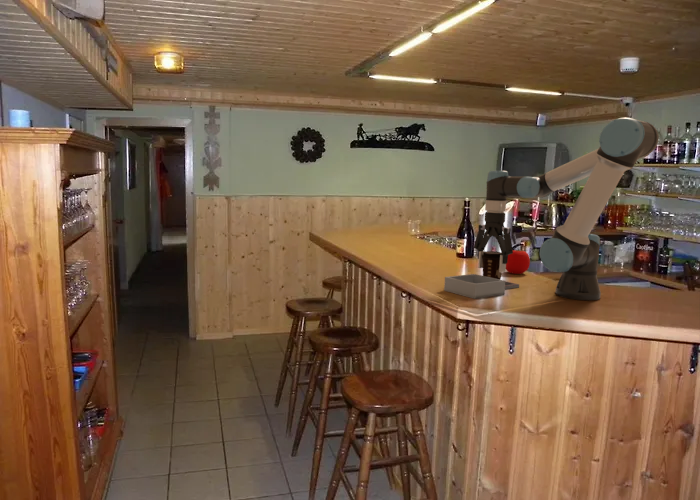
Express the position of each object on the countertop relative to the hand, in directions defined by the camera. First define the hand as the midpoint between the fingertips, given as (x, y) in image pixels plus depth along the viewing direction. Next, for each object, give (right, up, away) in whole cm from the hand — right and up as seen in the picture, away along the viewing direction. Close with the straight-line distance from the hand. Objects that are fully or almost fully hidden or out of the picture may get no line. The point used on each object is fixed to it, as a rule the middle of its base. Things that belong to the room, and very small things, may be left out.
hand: (491, 269), depth 209 cm
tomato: (+19, -3, +30) cm, 36 cm away
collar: (0, -6, +1) cm, 6 cm away
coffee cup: (0, -6, +1) cm, 6 cm away
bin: (-10, -8, -13) cm, 18 cm away
